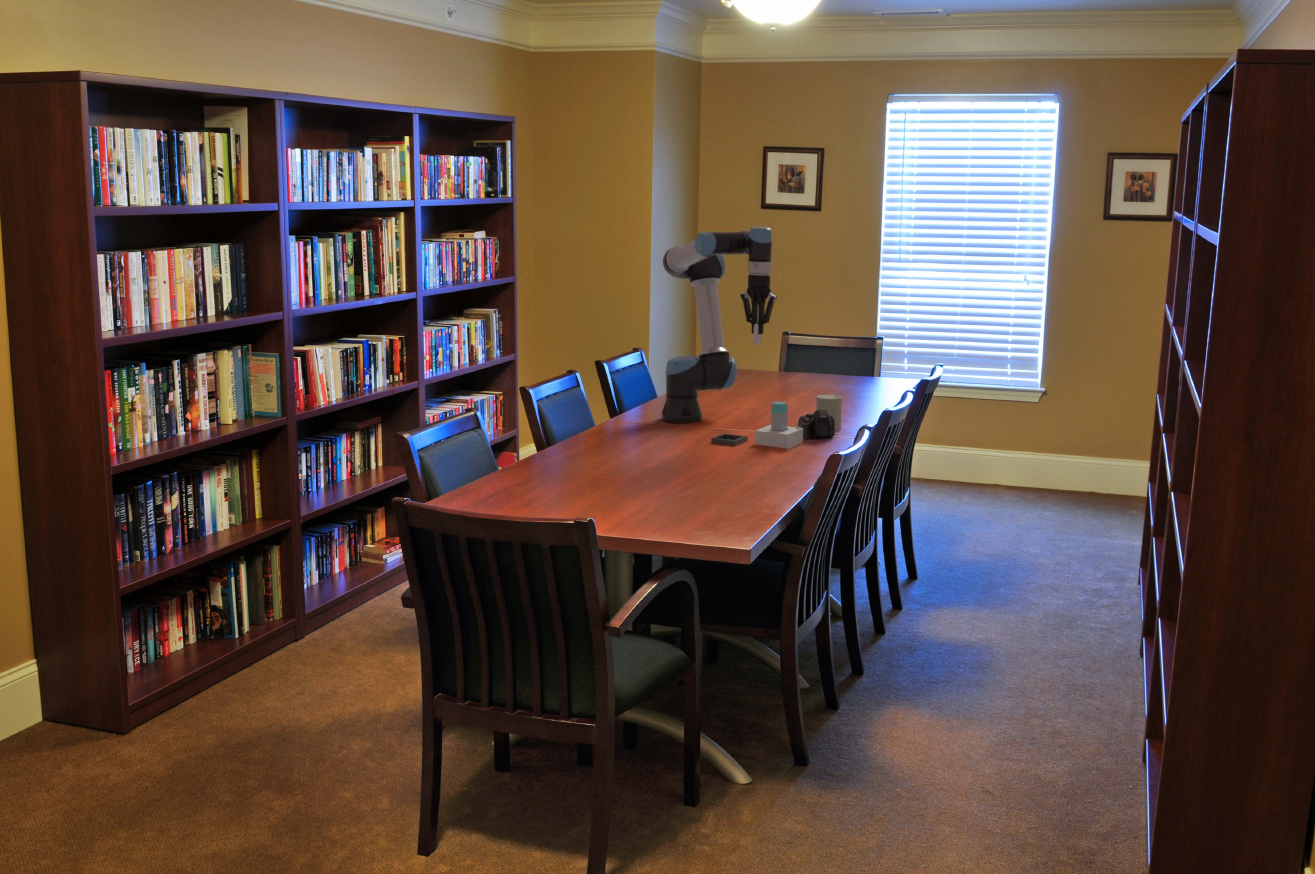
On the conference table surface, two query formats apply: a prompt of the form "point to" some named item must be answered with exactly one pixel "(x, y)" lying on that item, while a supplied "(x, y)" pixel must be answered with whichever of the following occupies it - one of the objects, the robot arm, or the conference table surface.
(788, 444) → the port panel
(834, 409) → the can
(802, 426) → the camera
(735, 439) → the dark grey square tray
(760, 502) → the conference table surface
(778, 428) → the plug
